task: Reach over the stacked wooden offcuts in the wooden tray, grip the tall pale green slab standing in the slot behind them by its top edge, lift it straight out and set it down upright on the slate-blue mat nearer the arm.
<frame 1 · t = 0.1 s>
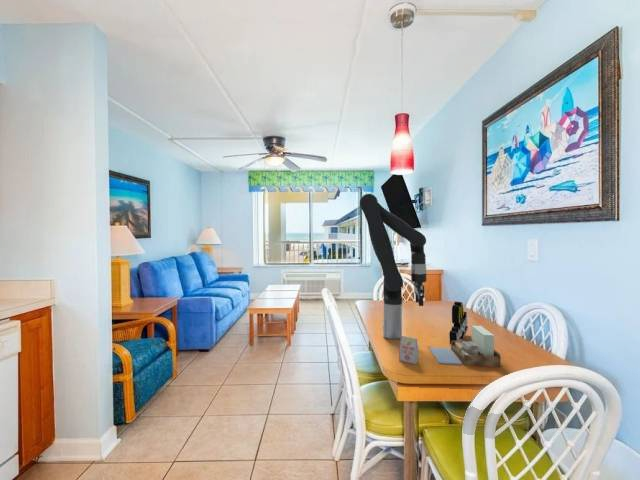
hand: (419, 304, 167), 17 cm above the table, tool pointing down, fingers open, 8 cm apart
offcut b: (462, 353, 145), resting in wooden tray
wooden tray: (473, 357, 140), on the table
offcut a: (469, 361, 136), resting in wooden tray, touching offcut c
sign: (459, 339, 165), on the table
mat: (444, 356, 142), on the table
pale green slab: (482, 358, 140), resting in wooden tray
tea bag: (408, 361, 136), on the table
offcut c: (469, 352, 136), point 4 cm above the table, touching offcut a
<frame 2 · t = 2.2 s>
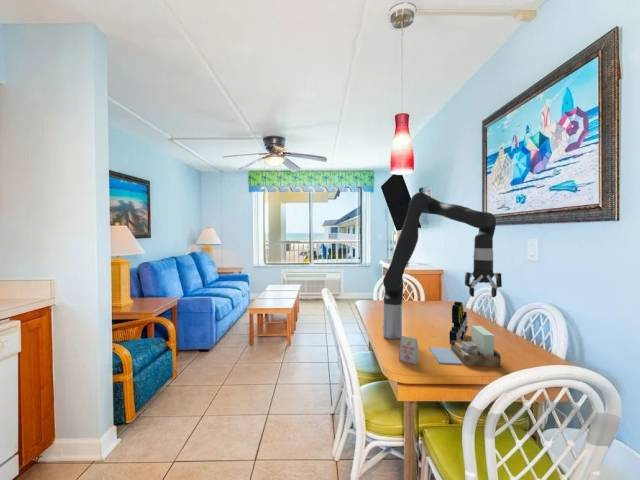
hand: (482, 296, 140), 26 cm above the table, tool pointing down, fingers open, 8 cm apart
nothing on the table moved.
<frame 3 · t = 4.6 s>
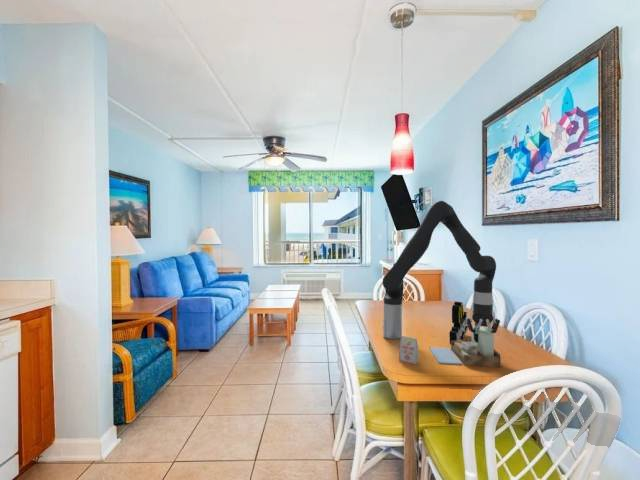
hand: (482, 342, 140), 7 cm above the table, tool pointing down, fingers closed on pale green slab, 4 cm apart
pale green slab: (481, 357, 140), resting in wooden tray, touching gripper
everything else where it was.
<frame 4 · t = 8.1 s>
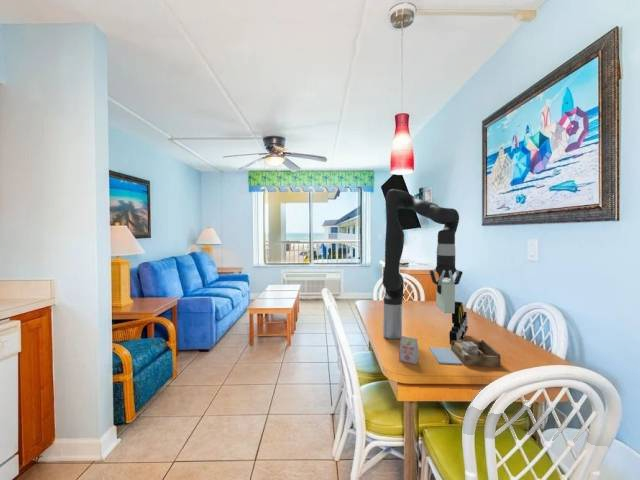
hand: (445, 293, 142), 27 cm above the table, tool pointing down, fingers closed on pale green slab, 4 cm apart
pale green slab: (444, 309, 142), point 20 cm above the table, touching gripper
everything else where it was.
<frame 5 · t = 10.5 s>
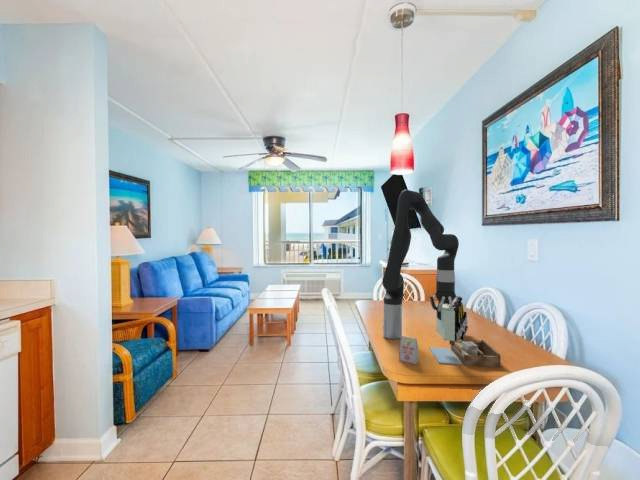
hand: (445, 319, 142), 16 cm above the table, tool pointing down, fingers closed on pale green slab, 4 cm apart
offcut a: (469, 361, 136), resting in wooden tray
pale green slab: (445, 335, 142), point 9 cm above the table, touching gripper
offcut c: (469, 351, 136), point 4 cm above the table
everything else where it was.
when the fingers open (8 cm above the table, at t = 12.4 s): pale green slab stays where it is, resting on mat.
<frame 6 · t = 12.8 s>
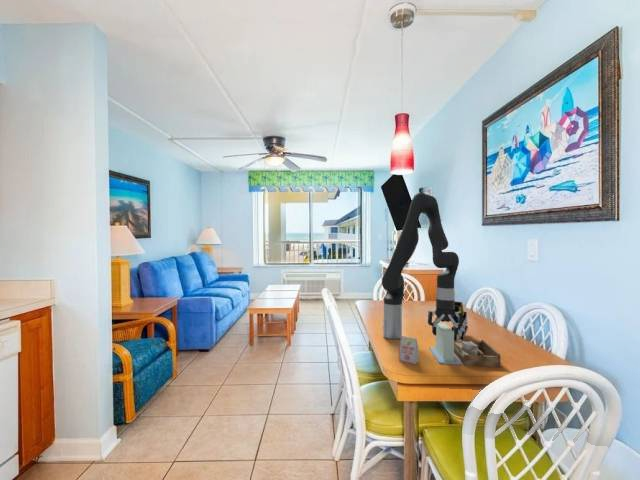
hand: (444, 335, 142), 9 cm above the table, tool pointing down, fingers open, 8 cm apart
offcut a: (469, 361, 136), resting in wooden tray, touching offcut c
pale green slab: (444, 354, 142), point 1 cm above the table, touching mat
offcut c: (469, 352, 136), point 4 cm above the table, touching offcut a
everything else where it was.
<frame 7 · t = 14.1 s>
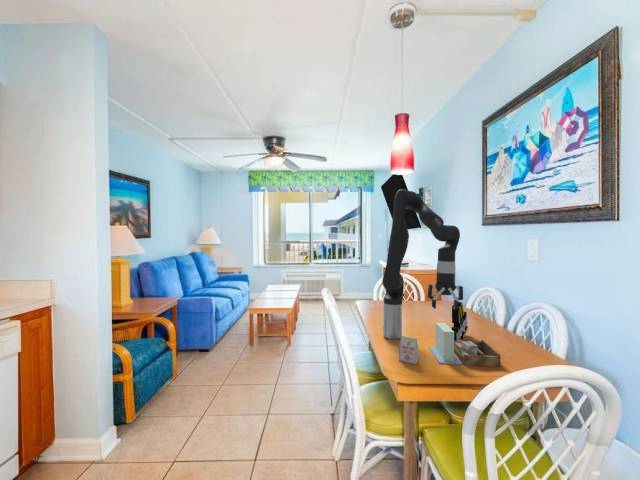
hand: (444, 308, 141), 21 cm above the table, tool pointing down, fingers open, 8 cm apart
offcut a: (469, 361, 136), resting in wooden tray
offcut c: (469, 351, 136), point 4 cm above the table
everything else where it was.
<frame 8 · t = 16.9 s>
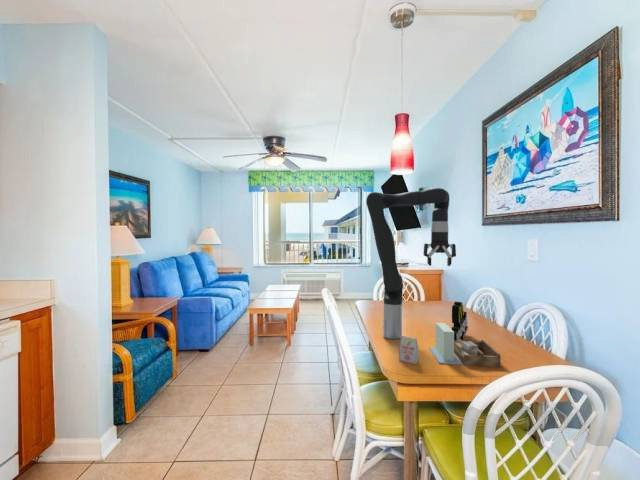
hand: (439, 265, 154), 38 cm above the table, tool pointing down, fingers open, 8 cm apart
offcut a: (469, 361, 136), resting in wooden tray, touching offcut c
offcut c: (469, 351, 137), point 4 cm above the table, touching offcut a
everything else where it was.
at the end: pale green slab inside the target area on the mat (0.1 cm from its centre), point 0.6 cm above the mat's base; pale green slab tilted 0°; the gripper is holding nothing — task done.
